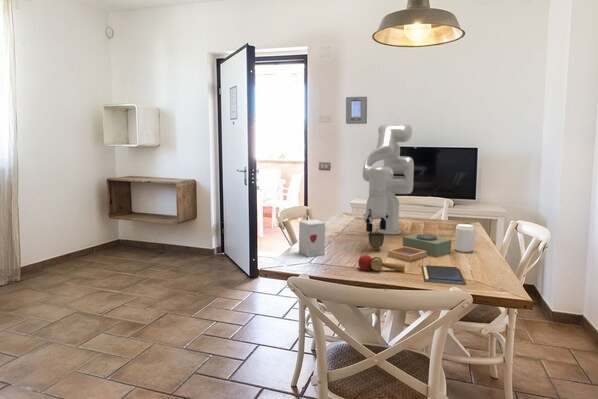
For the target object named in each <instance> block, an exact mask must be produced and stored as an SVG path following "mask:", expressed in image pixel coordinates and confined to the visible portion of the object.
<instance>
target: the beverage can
mask: <svg viewBox="0 0 598 399" xmlns="http://www.w3.org/2000/svg"><path fill="white" fill-rule="evenodd" d="M454 238H455V239H454V250H456V251H457V252H460V253H471V252H473V251H474V243H475V242H474V241H475V228H474V225H472V224H467V223H459V224H456V227H455V235H454Z"/></svg>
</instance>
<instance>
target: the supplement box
mask: <svg viewBox="0 0 598 399" xmlns="http://www.w3.org/2000/svg"><path fill="white" fill-rule="evenodd" d="M298 224H299V225H298V226H299V228H298V229H299V230H298V252H299V253H300V254H301V255H304V256H306V257H307V258H311V257H318V256H324V255H325V253H326V251H325V249H326V246H325V245H326V222H324V221H321V220H318V219H306V220H299V222H298Z"/></svg>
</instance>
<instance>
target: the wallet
mask: <svg viewBox="0 0 598 399" xmlns="http://www.w3.org/2000/svg"><path fill="white" fill-rule="evenodd" d="M421 271H422V272H421V273H422V277H423V282H425V283H432V284H433V283H435V284H448V285H458V286H459V285H460V286H467V282H466V280H465V278H464V276H463V274H462V272H461V269H460V268H458V267H457V266H445V265H444V266H443V265H426V266H425V265H421Z"/></svg>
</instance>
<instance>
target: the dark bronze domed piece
mask: <svg viewBox="0 0 598 399" xmlns="http://www.w3.org/2000/svg"><path fill="white" fill-rule="evenodd" d="M367 233H368V234H367V235H368V243H369V244H368V245H369V246H370V247H371V250H372V251H373V252H374V251H375V252H378V251H380V249H381V247H382V246H383V244H384V239H385V234H383V233H381V232H380V233H379V232H378V231H377V232H376V231H375V232H374V231H372V232H367Z"/></svg>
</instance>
